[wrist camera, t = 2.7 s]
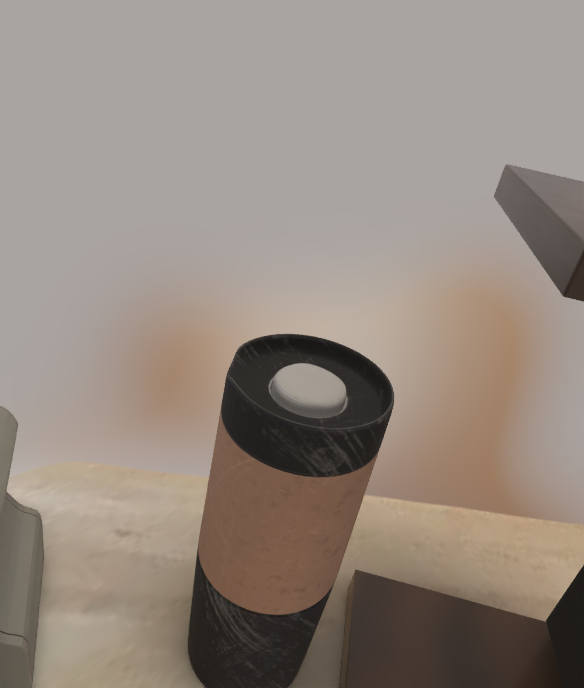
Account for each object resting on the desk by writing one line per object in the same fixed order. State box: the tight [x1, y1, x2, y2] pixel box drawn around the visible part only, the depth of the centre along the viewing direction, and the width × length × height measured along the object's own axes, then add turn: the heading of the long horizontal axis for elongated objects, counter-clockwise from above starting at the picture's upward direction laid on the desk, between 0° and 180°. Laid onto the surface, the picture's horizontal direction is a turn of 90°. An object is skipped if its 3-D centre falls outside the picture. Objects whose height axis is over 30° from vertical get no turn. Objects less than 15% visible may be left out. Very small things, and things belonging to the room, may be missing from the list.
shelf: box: [339, 165, 584, 688], centre depth 26 cm, size 15×12×30 cm
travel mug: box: [188, 334, 394, 688], centre depth 29 cm, size 8×8×20 cm
